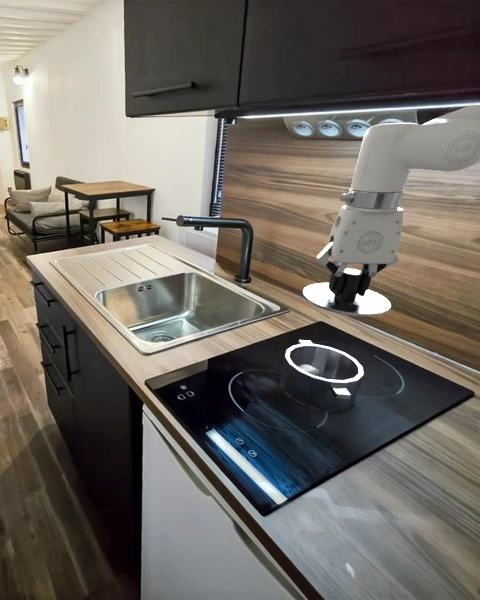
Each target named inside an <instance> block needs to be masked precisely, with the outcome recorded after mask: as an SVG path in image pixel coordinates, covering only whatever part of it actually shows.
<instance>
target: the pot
mask: <svg viewBox="0 0 480 600" xmlns="http://www.w3.org/2000/svg"><path fill="white" fill-rule="evenodd" d="M305 364H307V365H310V366H312V367H314V368H316V369H317V370H318V371H319V373H318V374H317V375H315V376H314V375H312V374H309V373H307V372H305V371H303V370H301V369H300V368H299V367H298V366H301V365H305ZM364 376H365V374H364V367H363V365H362V364H360V362H359V361H358V360H357V359H356V358H354V357H353V356H351V355H350V354H348V353H346V352H345V351H341V350H339V349H336V348H333V347H331V346H326V345H322V344H316V343H313V342H312V341H311V340H309V339H308V340H306V339H305V340H304V339H298V343H297V344H294V345H292V346H290V347H289V348H287V349H286V350H285V355H284V359H283V363H282V368H281V372H280V375H279V380H278V384H279V387H280V389H281V391H282V392H283V394H284V395H285V396H286V397H287V398H289V399H290V400H292V401H293V402H294V403H297V404H298V405H300V406H302V407H305V408H307V409H310V410H312V411H316V412H321V413H331V414H335V413H336V414H337V413H343V412H346V411H347V410H349V409H350V408H352V406H353V405H354V403H355V401H356V398H357V396H358V393H359V390H360V388H361V387H360V386H361V384H362V381H363V378H364Z"/></svg>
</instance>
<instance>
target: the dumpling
mask: <svg viewBox="0 0 480 600" xmlns="http://www.w3.org/2000/svg"><path fill="white" fill-rule="evenodd" d="M298 367H299V368H300V369H301V370H303V371H305V372H307V373H309V374H312V375H314V376H315V375H317V374H318V373H319V371H318V370H317V369H316V368H314V367H312V366H310V365H307V364H305V365H301V366H298Z"/></svg>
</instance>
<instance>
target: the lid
mask: <svg viewBox="0 0 480 600" xmlns="http://www.w3.org/2000/svg"><path fill="white" fill-rule="evenodd" d="M342 276H343V277H344V283H343V286H342V290H341V293H340V295H339V296H335V295H334V294H333V293H332V292H331V291H330V290H329V287H328V285H329V282H320V283H313V284H309V285H307V286H305V287H304V288H303V290H302V297H303V298H304V300H305V301H306V302H308V303H309V304H311V305H313V306H315V307H317V308H319V309H321V310H324V311H328V312H330V313H335V314H340V315H344V316H351V317H360V318H361V317H365V318H370V317H371V318H372V317H379V316H382V315H386V314H388V313H389V311H390V310H391V307H392V304H391V302H390V301H389V299H388V298H386V297H385V296H383V295H382V294H379V292H375V291H373V290H371V289H368V290H367V291H366V293H365V296H359V295H358V294H357V293H358V290H359V287H360V283H361V280H362V277H363V272H362V270H360V269H358V268H357V269H356V268H347V267H346V268H345V270H344V272H343V275H342Z"/></svg>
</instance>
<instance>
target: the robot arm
mask: <svg viewBox="0 0 480 600" xmlns="http://www.w3.org/2000/svg"><path fill="white" fill-rule="evenodd" d="M479 162H480V105H476V106H470V105H468V106H465V107H462V108H460V109H459V108H458V109H457V110H454V111H451V112H448V113H446V114H443V115H440V116H438V117H436V118H433V119H431V120H429V121H427V122H424V123H423V124H419V123H416V122H388V123H379V124H374V125H371V126H370V127H368V128H367V130H366V131H365V132H364V135H363V138H362V142H361V146H360V150H359V154H358V157H357V163H356V164H355V169H354V172H353V173H354V174H353V177H352V181H351V185H350V188H349V189H348V191H347V192H346V193H341V194H340V196H339V201H340V202H344V203H345V205H342V206H341V207H340V210H339V212H338V213H337V215H336V217H335V220H334V222H333V224H332V227H331V230H330V232H329V236H328V239H327V242H326V245H325V247H324V248H323V249H322V250H321V251H320V252H319V254H317V256H315V260H316V261H317V262H318V263H320V264H321V265H323V266H324V267H326V268H327V270H328V271H329V272H330V273H331V274H330V278H329V282H328V283H329V285H328V287H329V290H330V291H331V292H332V293H333V294H334V295H335V296H339V295H340V293H341V290H342V286H343V283H344V277H343V276H342V275H343V272H344V270H345V268H347V266H348V265H361V271H362V272H363V277H362V280H361V283H360V287H359V290H358V293H357V294H358V295H359V296H365V293H366V291H367V290H369V287H370V285H371V282H372V278H375V277H376V276H377V274H378V273H380V272H381V271H383V270H384V269H386V268H388V267H389V266H392V265H394V264H397V263H398V262H399V257H398V255H397V252H398V249H399V245H400V241H401V236H402V230H403V225H404V208H402V207H400V203H401V201H402V197H403V194H404V191H405V187H406V185H407V182H408V179H409V176H410V173H411V170H412V169H414V170H422V171H431V172H442V173H449V172H451V173H452V172H459V171H461V170H464V169H465V170H466V169H468V168H470V167H472V166H474V165H476V164H477V163H479ZM329 257H331V259H333V260H332V261H331V260H330V259H329Z"/></svg>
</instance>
